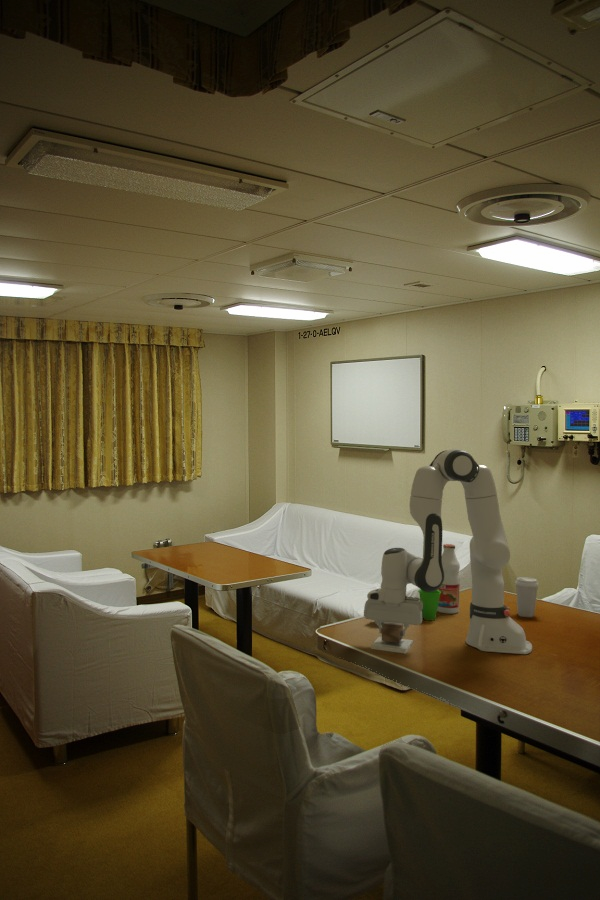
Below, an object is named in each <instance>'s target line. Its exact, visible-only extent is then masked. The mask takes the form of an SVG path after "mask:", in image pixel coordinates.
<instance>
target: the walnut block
mask: <svg viewBox="0 0 600 900" xmlns="http://www.w3.org/2000/svg"><path fill="white" fill-rule="evenodd" d="M401 630H404V624H400V623H392V622H386V623H385V624H384V625H382V634H381V636H382V641H389V642H396V643H399V642H400V641H401V639H404V636H400V634H401V633H400V631H401Z"/></svg>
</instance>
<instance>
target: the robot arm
mask: <svg viewBox="0 0 600 900" xmlns="http://www.w3.org/2000/svg"><path fill="white" fill-rule="evenodd" d="M456 481H457V482H459V483H460V484H461V486H462V487H463V491H464V499H465V505H466V507H465V508H466V512H467V514H466V515H467V519H468V523H469V526H470V529H471V533H472V537H471V539H470V541H469V558H470V561H469V562H470V572H471V574H470V575H471V602H470V603H469V619H470V620H469V627H468V632H467V636H466V638H465V643H466V644H467V645H469V646H470V647H473V648H476V649H478V650H479V651H481V652H492V653H505V654H515V655H516V654H517V655H528V654H530V653H532V650H533V645H532V643H531V642H530V641H528V640H527V639H526V638H527V637H526V633H525V631H524V628H523V627H522V626H521V625H520V624H518V622H516V621H515V620H514V619H513V618H511V617H510V615H511V608H510V607H509V606H506V605H505V604H504V603H505V580H504V575H503V568H504V567H506V566H507V565H508V563H509V562H510V559H511V551H510V548H509V543H508V539H507V535H506V531H505V528H504V525H503V521H502V518H501V513H500V506H499V499H498V491H497V487H496V483H495V479H494V476H493V473H492V471H491V469H490V468H489V466H486V465H483V464H478V463H477V461H476V460H475V459H474V457H473V456H472V455H471V454H470V453H469V452H468V451H465V450H462V449H454V448H453V449H447V450H443V451H441V452H439V453H438V454H437V455H436V456H435V457H434V458H433V460H432V461H431V463H430V464H429V465H423V466H421V467H419V468H418V469H417V470H416V472H415V474H414V477H413V482H412V484H411V490H410V497H409V513H410V516H411V517H412V519H413V520H414V521H415V522H416V523H417V525H418V526H419V528H420V530H421V531H422V534H423V535H422V536H423V542H422V543H423V545H422V546H423V547H422V557H420V556H417V555H415V554H412V553H410V552H408V550H406V549H405V548H403V547H391V548H388V549H387V550H385V551H384V552H383V554H382V558H381V559H382V560H381V568H380V569H381V571H380V573H381V575H380V576H381V583H380V588H375V589H373V590H370V591H369V592H368V593H367V596H366V597H367V600H366V601H365V603H364V606H363V607H364V609H363V617H364V619H366V620H371V621H374V620H377V621H376V624H375V625H377V627H378V629H379V630H378V631H379V634H381V635H382V626H383V625H381V622H382V621H386V622H394V623H401V624H403V630H401V631H400V633H401V634H400V636H403V638H404V637H406V634H407V633H406V631H407V630H408V628H409V626H411V625H412V626H416V627H417V626H420V625H421V624H422V623H423V617H422V609H423V602H422V601H421V600H420V597H413V596H407V585H408V584H411V585H413V586H415V587H417V588H418V589H419V590H420V589H421V590H423V591H424V592H434V591H436V590H438V589H439V588H440V587H441V585H442V584H443V581H444V570H443V566H442V554H443V521H442V503H443V494H444V493H443V492H444V489H445V486H446V485H447V483H448V482H456Z"/></svg>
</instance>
